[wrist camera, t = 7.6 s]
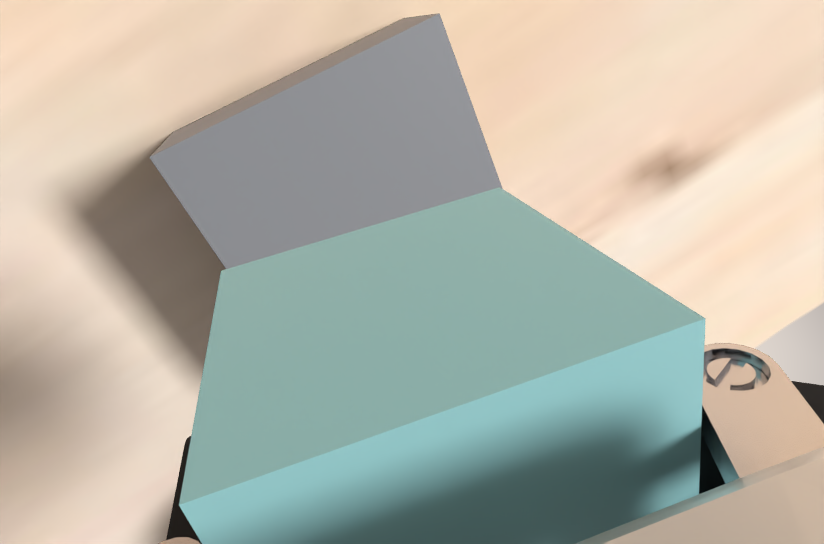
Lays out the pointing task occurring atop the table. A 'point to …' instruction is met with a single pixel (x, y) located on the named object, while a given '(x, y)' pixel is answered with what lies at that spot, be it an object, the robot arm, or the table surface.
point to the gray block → (333, 147)
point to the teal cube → (443, 388)
